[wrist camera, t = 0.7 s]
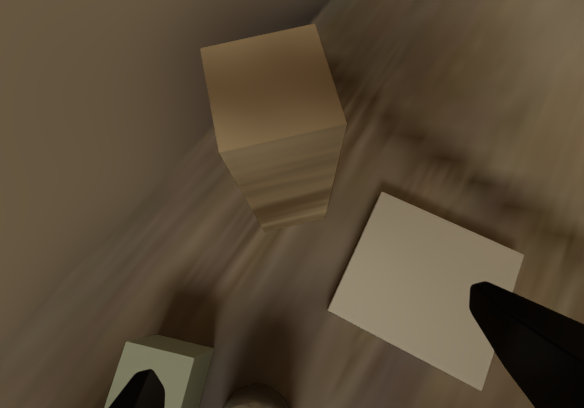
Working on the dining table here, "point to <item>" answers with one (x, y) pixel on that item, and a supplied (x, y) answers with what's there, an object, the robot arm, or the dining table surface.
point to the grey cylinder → (257, 398)
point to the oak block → (277, 122)
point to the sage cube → (166, 368)
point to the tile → (423, 286)
